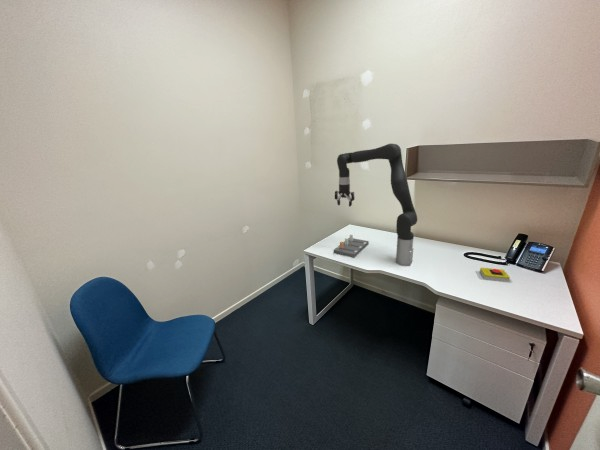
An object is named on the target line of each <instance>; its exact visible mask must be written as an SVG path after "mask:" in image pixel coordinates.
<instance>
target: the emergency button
mask: <svg viewBox="0 0 600 450" xmlns="http://www.w3.org/2000/svg"><path fill="white" fill-rule="evenodd" d="M474 273H475V274H476V275H477V278H478V279H479V280H483V281H493V282H502V283H513V281H512V279H511V278H510V276H509V274H508V272H506V271H505V269H501V268H500V269H499V268H493V267H491V268H489V267H480V269H479V270H475V271H474Z"/></svg>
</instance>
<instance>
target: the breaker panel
mask: <svg viewBox="0 0 600 450" xmlns="http://www.w3.org/2000/svg"><path fill="white" fill-rule="evenodd" d="M353 235H354V234H349V237H345V238H344V240H343V241H342V242H343V249H342V248H340V244H339V245H337V247H335V248H334V249H333V254H335V255H341V256H345V257H349V258H353V259H355V258H356V257H357V256H358V255H359V254H360V253H361V252H362V251H363V250H364V249H365V248H366V247H367V246H368V245H369V242H370V241H369V240H365V239H359V238H354V236H353Z"/></svg>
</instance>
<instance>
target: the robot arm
mask: <svg viewBox="0 0 600 450" xmlns="http://www.w3.org/2000/svg"><path fill="white" fill-rule="evenodd" d="M373 160H388V163H389V166H390V186H391V189H392V194H393V195H394V197H395V198H396V200H397V201H398V202H399V204H400V206H401V209H402V213H400V214H399V215H398V216H397V217H396V227H395V228H396V235H397V241H396V254H395V262H396V264H398V265H400V266H411V265H412V263H413V257H414V248H413V247H414V246H413V245H414V237H415V236H414V235H415V234H414V233H413V232H412V231H411V230H412V227H413V226H415V225H416V224H417V222H418V215H417V212H416V209H415V207H414V204H413V200H412V197H411V196H412V195H411V191H410V188H409V183H408V179H407V175H406V172H405V168H404V163H403V155H402V149H401V147H400V145H399V144H397V143H388V144H385V145H382V146H379V147H376V148H372V149H364V150H363V149H362V150H357V151H353V152H346V153H340V154H338V156H337V159H336V164H337V168H338V177H339V178H338V190H336V191H334V200H336V201H337V206H340V205H341V199H343V198H344V199H346V200H348V207H351V206H353V205H352V204H353V201H355V192H354V191H350V190H351V184H350V183H351V179H350V168H348V165H347V164H352V163H354V164H356V163H363V162H368V161H373Z"/></svg>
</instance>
